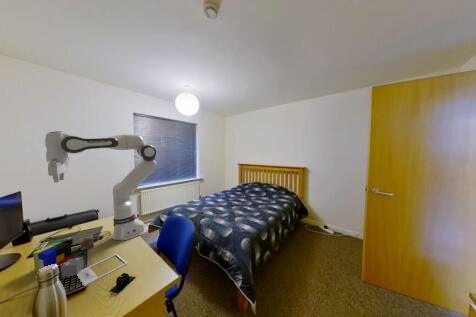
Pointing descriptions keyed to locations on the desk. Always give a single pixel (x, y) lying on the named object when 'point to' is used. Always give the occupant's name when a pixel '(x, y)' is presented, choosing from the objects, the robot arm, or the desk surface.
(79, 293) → the desk surface
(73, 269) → the grey block
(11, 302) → the desk surface
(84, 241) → the walnut block
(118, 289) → the black irregular block
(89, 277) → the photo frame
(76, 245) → the desk surface
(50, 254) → the puzzle toy
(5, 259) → the desk surface
